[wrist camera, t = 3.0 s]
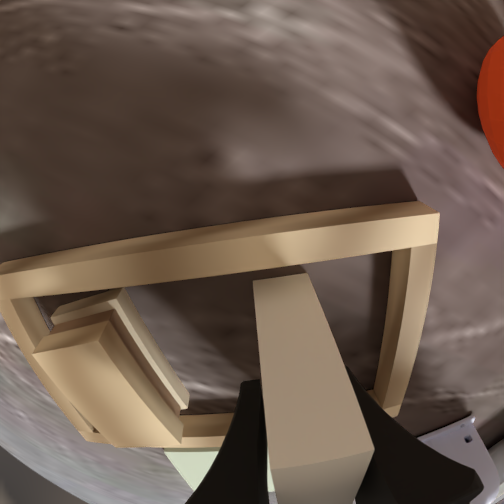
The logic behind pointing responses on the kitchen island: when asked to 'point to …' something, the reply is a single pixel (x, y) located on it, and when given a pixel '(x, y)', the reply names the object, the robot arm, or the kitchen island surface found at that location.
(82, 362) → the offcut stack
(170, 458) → the sage mat
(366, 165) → the kitchen island surface
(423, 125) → the kitchen island surface
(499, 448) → the serving bowl
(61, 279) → the wooden rectangular frame
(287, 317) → the cream rectangular block
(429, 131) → the kitchen island surface
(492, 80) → the clementine
